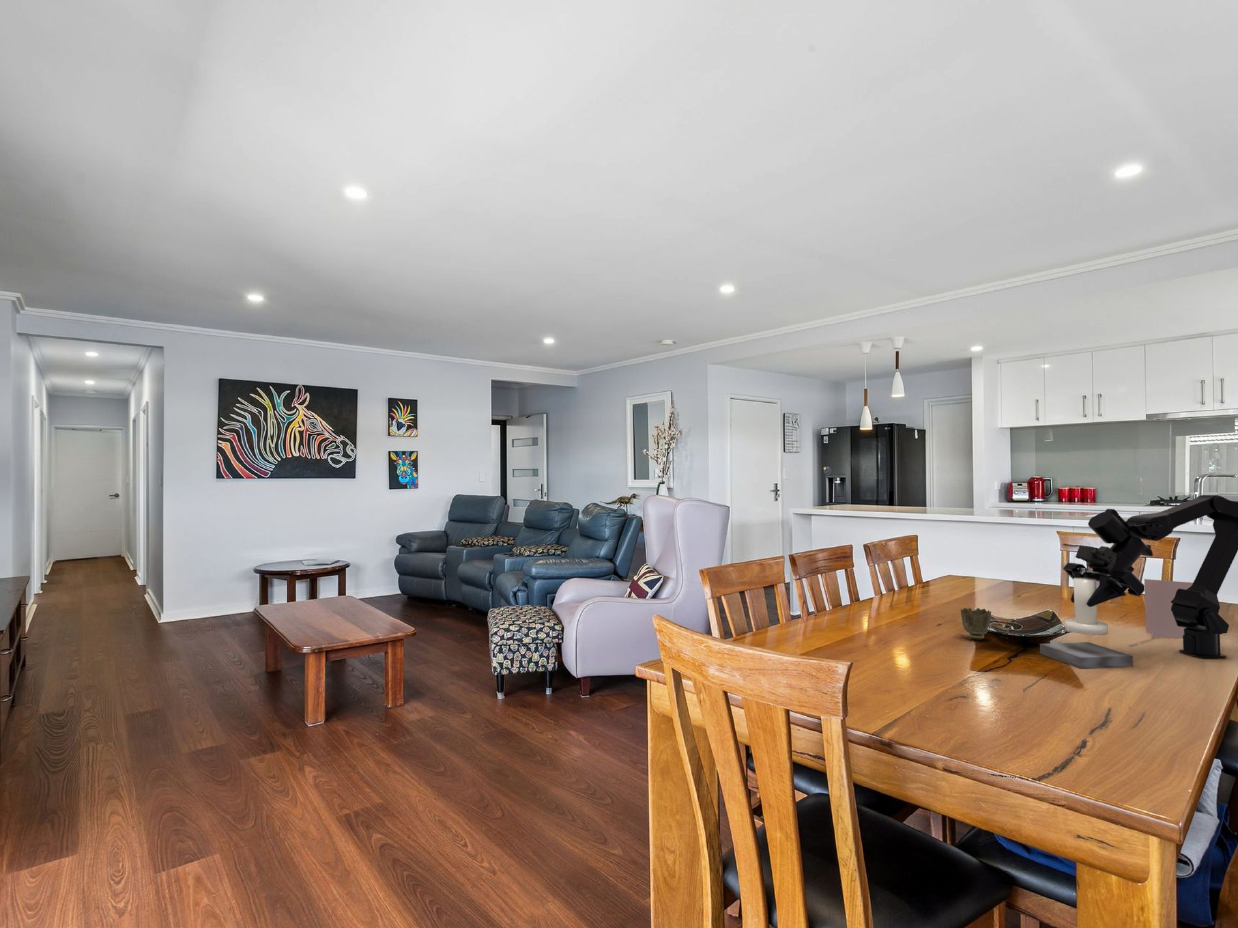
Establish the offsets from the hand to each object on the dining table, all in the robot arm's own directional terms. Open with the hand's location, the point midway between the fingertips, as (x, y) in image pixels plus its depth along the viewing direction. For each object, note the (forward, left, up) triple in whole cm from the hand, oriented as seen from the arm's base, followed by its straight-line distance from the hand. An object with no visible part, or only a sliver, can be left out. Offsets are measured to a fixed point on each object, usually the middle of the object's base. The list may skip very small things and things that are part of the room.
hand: (1080, 603), depth 161 cm
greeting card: (-40, -20, -14) cm, 47 cm away
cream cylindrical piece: (-1, 0, -7) cm, 7 cm away
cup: (+13, -22, -14) cm, 29 cm away
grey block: (-1, 0, -13) cm, 14 cm away
